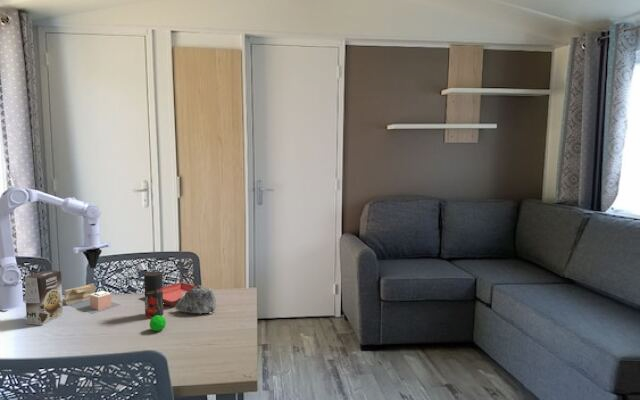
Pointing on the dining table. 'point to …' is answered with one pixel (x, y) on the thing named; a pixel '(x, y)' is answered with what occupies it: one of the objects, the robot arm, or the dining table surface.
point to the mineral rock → (197, 301)
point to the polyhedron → (157, 323)
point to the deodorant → (153, 294)
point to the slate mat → (86, 306)
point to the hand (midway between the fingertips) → (92, 267)
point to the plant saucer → (170, 291)
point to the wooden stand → (78, 294)
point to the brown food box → (43, 297)
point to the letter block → (100, 300)
